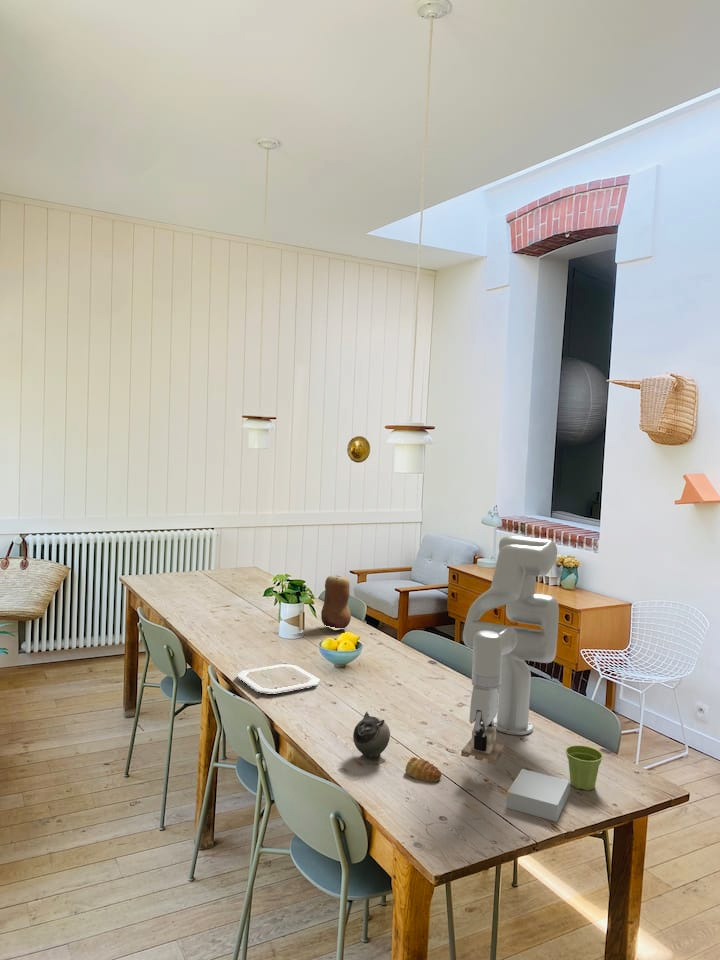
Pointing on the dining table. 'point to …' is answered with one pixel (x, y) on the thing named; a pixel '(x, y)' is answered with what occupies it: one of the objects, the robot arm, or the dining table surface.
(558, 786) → the dock
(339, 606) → the butternut squash
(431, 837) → the dining table surface
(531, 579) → the robot arm
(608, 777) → the dining table surface
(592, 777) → the plant pot
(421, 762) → the pastry
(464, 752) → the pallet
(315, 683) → the white square frame
